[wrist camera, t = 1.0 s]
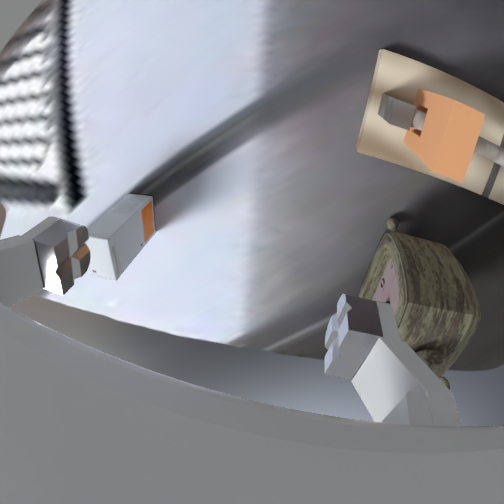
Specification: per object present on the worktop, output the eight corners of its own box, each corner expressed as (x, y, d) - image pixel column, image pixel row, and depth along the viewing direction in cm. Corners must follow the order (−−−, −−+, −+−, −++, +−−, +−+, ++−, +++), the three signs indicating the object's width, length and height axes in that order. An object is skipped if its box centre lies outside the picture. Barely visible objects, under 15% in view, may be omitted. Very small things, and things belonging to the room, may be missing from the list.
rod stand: (379, 49, 27) (396, 46, 21) (548, 132, 26) (583, 152, 19) (355, 147, 34) (365, 169, 28) (520, 209, 32) (548, 238, 26)
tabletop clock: (382, 203, 37) (435, 374, 17) (443, 220, 36) (522, 379, 16) (350, 292, 45) (353, 457, 25) (404, 303, 45) (430, 458, 24)
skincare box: (157, 232, 46) (117, 282, 36) (132, 228, 46) (89, 275, 37) (154, 194, 43) (107, 239, 33) (127, 191, 43) (78, 234, 33)
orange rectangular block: (403, 141, 29) (431, 171, 21) (417, 88, 25) (453, 99, 18) (428, 150, 29) (462, 183, 21) (443, 98, 25) (485, 114, 18)
